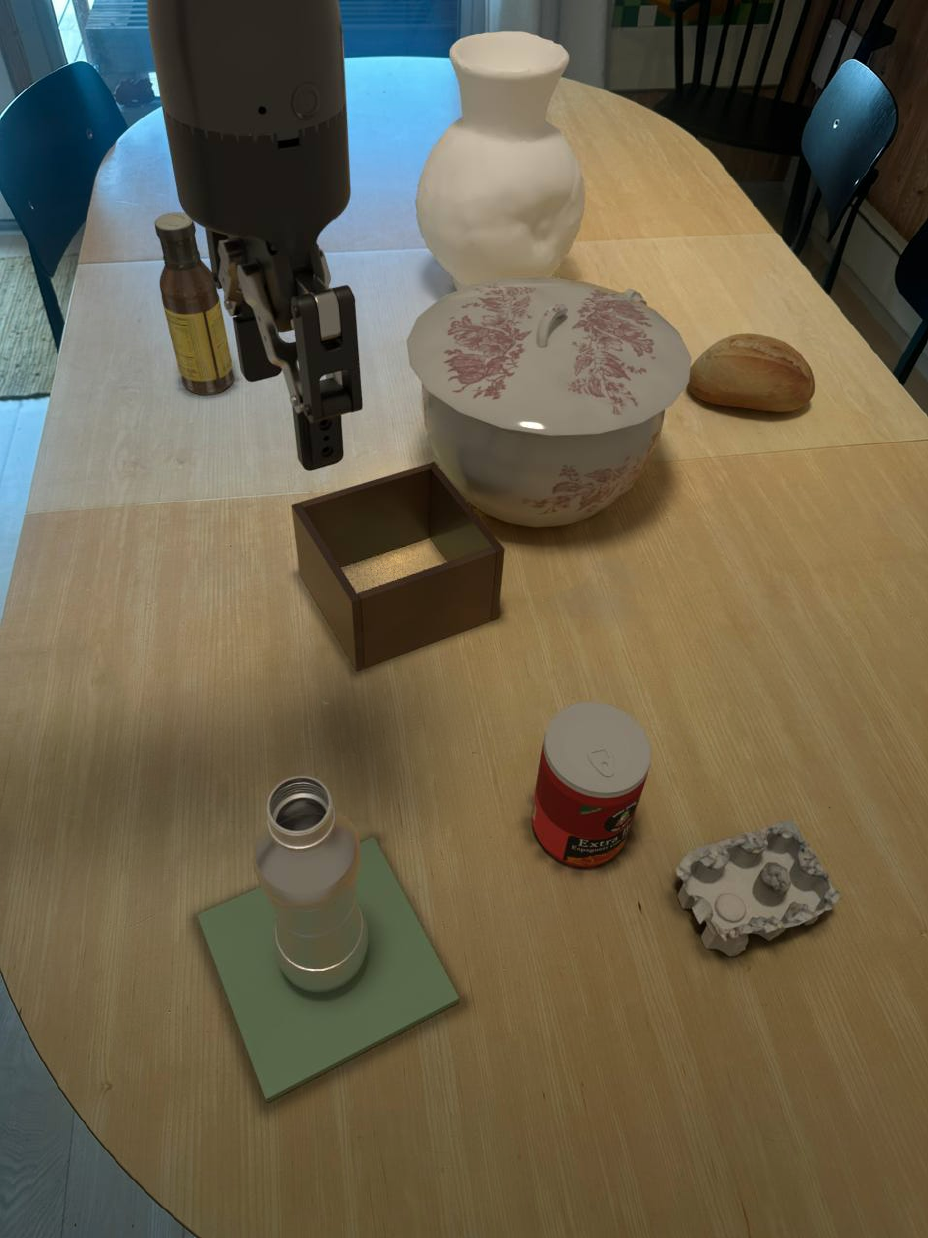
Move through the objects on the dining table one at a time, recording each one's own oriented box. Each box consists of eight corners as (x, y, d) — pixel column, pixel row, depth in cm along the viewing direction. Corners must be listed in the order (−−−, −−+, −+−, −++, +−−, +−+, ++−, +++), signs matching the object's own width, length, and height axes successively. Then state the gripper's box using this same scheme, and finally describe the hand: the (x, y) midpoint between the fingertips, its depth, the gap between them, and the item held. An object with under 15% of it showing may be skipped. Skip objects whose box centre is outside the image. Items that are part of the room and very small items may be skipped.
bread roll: (811, 432, 114) (833, 374, 108) (683, 416, 115) (698, 357, 109) (805, 386, 120) (825, 329, 114) (684, 371, 121) (698, 313, 115)
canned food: (569, 888, 73) (589, 811, 65) (510, 808, 78) (521, 727, 69) (647, 841, 76) (676, 762, 68) (586, 767, 80) (606, 685, 72)
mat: (266, 1103, 62) (265, 1099, 62) (198, 919, 70) (196, 914, 70) (459, 1002, 67) (459, 998, 66) (374, 841, 75) (374, 836, 75)
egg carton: (710, 968, 69) (723, 943, 66) (662, 876, 74) (672, 850, 71) (836, 923, 72) (854, 898, 69) (782, 838, 77) (797, 810, 74)
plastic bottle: (364, 904, 71) (351, 746, 56) (374, 996, 66) (364, 850, 51) (275, 917, 70) (238, 759, 55) (279, 1011, 65) (240, 867, 51)
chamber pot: (432, 585, 94) (436, 407, 79) (388, 418, 112) (384, 247, 97) (702, 552, 99) (755, 377, 84) (618, 397, 117) (649, 230, 102)
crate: (356, 671, 86) (351, 602, 80) (299, 574, 94) (291, 504, 88) (498, 618, 92) (505, 548, 85) (432, 530, 99) (434, 461, 93)
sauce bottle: (220, 361, 119) (193, 200, 104) (243, 386, 115) (218, 223, 101) (171, 377, 116) (136, 213, 101) (193, 403, 113) (160, 238, 98)
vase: (389, 287, 132) (384, 42, 110) (500, 240, 143) (517, 9, 121) (482, 345, 124) (498, 91, 101) (594, 291, 134) (630, 50, 112)
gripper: (116, 46, 43) (181, 366, 54) (222, 173, 34) (271, 518, 46) (278, 26, 45) (306, 336, 57) (412, 141, 37) (412, 475, 49)
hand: (290, 417), depth 52 cm, fingers open, 8 cm apart
